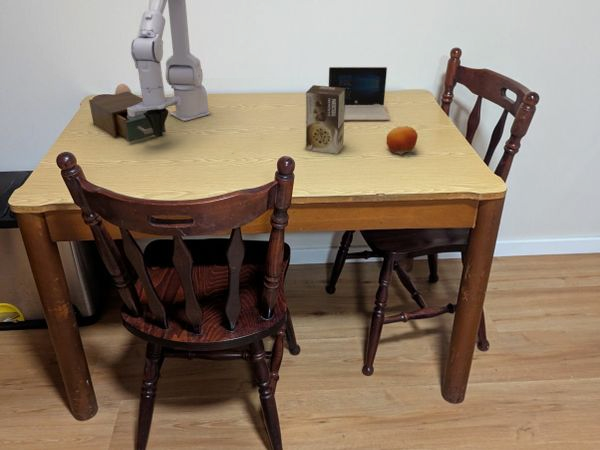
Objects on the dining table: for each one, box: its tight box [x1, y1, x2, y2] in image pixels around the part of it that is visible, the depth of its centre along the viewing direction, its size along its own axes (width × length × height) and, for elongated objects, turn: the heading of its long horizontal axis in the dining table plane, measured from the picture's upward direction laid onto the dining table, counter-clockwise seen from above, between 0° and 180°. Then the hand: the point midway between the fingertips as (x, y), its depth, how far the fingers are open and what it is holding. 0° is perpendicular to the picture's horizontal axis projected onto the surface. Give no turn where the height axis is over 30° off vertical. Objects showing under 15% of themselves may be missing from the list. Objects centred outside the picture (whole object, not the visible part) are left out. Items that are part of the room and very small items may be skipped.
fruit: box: [386, 125, 418, 156], centre depth 148 cm, size 8×8×8 cm
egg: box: [114, 83, 132, 94], centre depth 179 cm, size 5×5×7 cm
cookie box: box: [305, 84, 346, 155], centre depth 147 cm, size 9×6×16 cm
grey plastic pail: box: [127, 113, 145, 120], centre depth 157 cm, size 5×5×4 cm
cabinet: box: [88, 91, 143, 139], centre depth 163 cm, size 14×12×7 cm
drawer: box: [114, 112, 167, 143], centre depth 157 cm, size 18×11×6 cm, turn 42°
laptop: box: [328, 66, 390, 122], centre depth 171 cm, size 18×12×13 cm
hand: (158, 135), depth 150 cm, fingers closed, pressing on drawer
